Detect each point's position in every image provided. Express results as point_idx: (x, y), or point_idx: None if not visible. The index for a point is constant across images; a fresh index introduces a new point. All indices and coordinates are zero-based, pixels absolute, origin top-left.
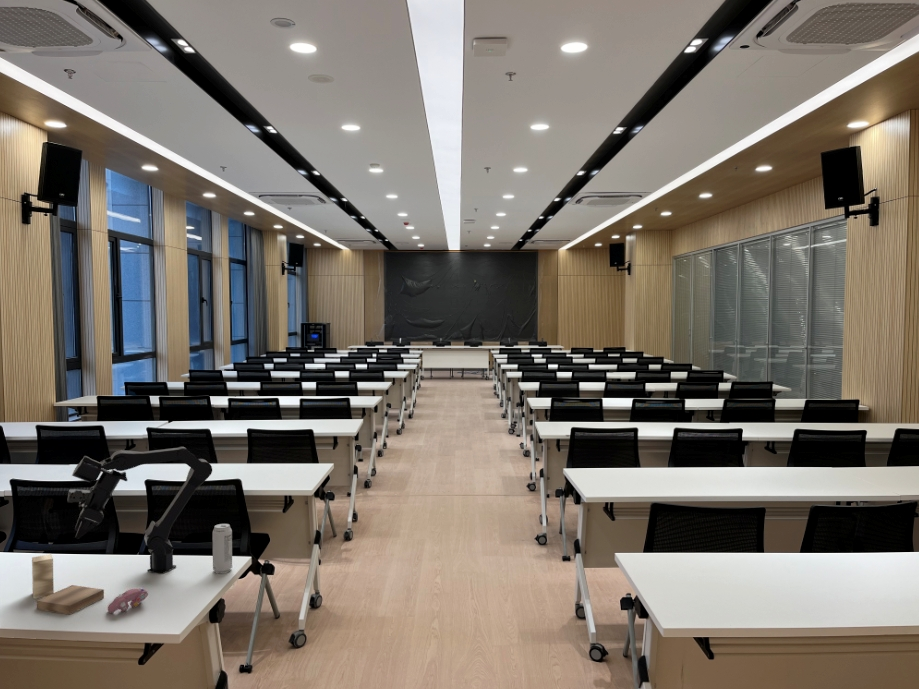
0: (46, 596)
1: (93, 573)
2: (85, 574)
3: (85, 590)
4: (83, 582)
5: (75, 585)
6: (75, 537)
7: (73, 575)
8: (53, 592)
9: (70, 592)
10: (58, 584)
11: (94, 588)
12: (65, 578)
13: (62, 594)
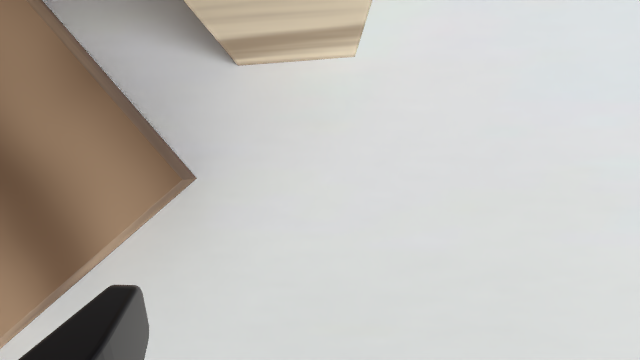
0: (27, 5)
1: (546, 329)
2: (556, 277)
3: (1, 262)
4: (382, 255)
5: (155, 201)
6: (112, 286)
7: (582, 199)
8: (235, 62)
9: (16, 162)
10: (438, 98)
11: (9, 322)
12: (545, 146)
13: (6, 109)
